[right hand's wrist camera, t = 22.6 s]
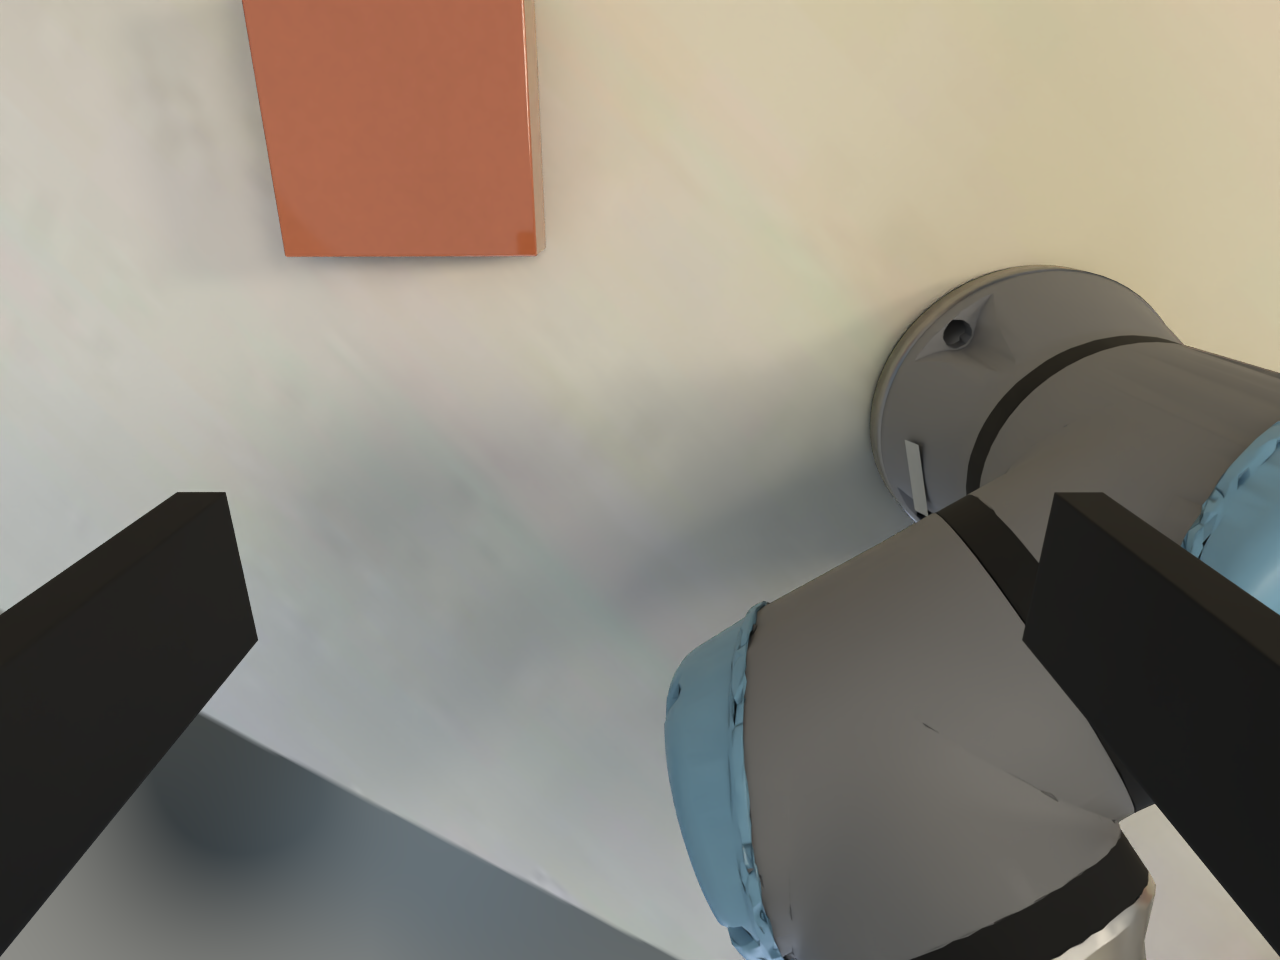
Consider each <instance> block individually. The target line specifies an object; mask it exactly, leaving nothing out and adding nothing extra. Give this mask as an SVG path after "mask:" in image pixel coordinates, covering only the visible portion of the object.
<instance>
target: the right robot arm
mask: <svg viewBox="0 0 1280 960" xmlns="http://www.w3.org/2000/svg"><path fill="white" fill-rule="evenodd" d="M870 435H871V444H872V451H873V455H874V459H875V462H876V465H877V468H878V470H879V473H880V475H881V477H882V479H883V481H884V483H885V485H886V486H887V488H888V489H889V491H890V492H891V494H892V495H893V496H894V498H895V499H896V500H897V502H898V503H899V504H900V505H901V507H902V508H903V509H904V510H905V511H906V513H907V514H908V515H909V516H910V517H911V518H912V519H913V520H914V521H915V522H916V523H915V524H913V525H911V526H909V527H908V528H906V529H904V530H902V531H901V532H899V533H897V534H895V535H894V536H892V537H890V538H888V539H887V540H885V541H883V542H881V543H880V544H878V545H876V546H874V547H872V548H870V549H869V550H867V551H865V552H863V553H861V554H859V555H858V556H856V557H854V558H852V559H850V560H848V561H847V562H845V563H843V564H841V565H839V566H837V567H836V568H834V569H832V570H830V571H828V572H826V573H825V574H823V575H821V576H819V577H817V578H815V579H814V580H812V581H810V582H808V583H806V584H804V585H803V586H801V587H799V588H797V589H795V590H793V591H792V592H790V593H788V594H786V595H784V596H782V597H781V598H779V599H777V600H775V601H773V602H771V603H768V602H766V601H763V602H761V603H759V604H756V605H755V606H753V607H752V608H751V609H750V610H749V611H748V612H747V614H746V616H745V618H743V619H742V620H740V621H738V622H737V623H735V624H734V625H732V626H730V627H729V628H727V629H726V630H724V631H722V632H721V633H719V634H718V635H716V636H715V637H713V638H711V639H710V640H708V641H707V642H705V643H703V644H702V645H700V646H698V647H697V648H695V649H694V650H693V651H692V652H690V653H689V654H688V655H687V656H686V657H685V658H684V660H683V661H682V662H681V664H680V665H679V667H678V668H677V670H676V672H675V674H674V676H673V679H672V681H671V684H670V688H669V693H668V696H667V705H666V721H665V750H666V760H667V768H668V775H669V781H670V786H671V791H672V797H673V802H674V806H675V810H676V814H677V818H678V822H679V825H680V829H681V833H682V836H683V839H684V842H685V845H686V849H687V852H688V855H689V858H690V861H691V864H692V866H693V869H694V872H695V874H696V877H697V880H698V882H699V884H700V887H701V889H702V892H703V894H704V896H705V898H706V900H707V902H708V904H709V906H710V908H711V910H712V912H713V914H714V915H715V917H716V919H717V921H718V922H719V923H720V924H721V925H723V926H725V927H728V931H729V935H730V938H731V942H732V945H733V946H734V947H735V948H736V949H737V951H738V952H739V953H740V954H741V955H742V956H743V957H744V958H745V959H746V960H1146V954H1145V943H1144V940H1145V935H1146V931H1147V927H1148V922H1149V918H1150V914H1151V910H1152V905H1153V901H1154V897H1155V888H1156V884H1155V882H1154V880H1153V878H1152V876H1151V875H1150V873H1149V871H1148V870H1147V868H1146V867H1145V866H1144V864H1143V863H1142V861H1141V859H1140V858H1139V856H1138V855H1137V853H1136V852H1135V850H1134V849H1133V847H1132V846H1131V844H1130V843H1129V841H1128V840H1127V838H1126V837H1125V835H1124V834H1123V832H1122V831H1121V829H1120V826H1119V821H1121V820H1123V819H1124V818H1126V817H1128V816H1130V815H1132V814H1133V813H1136V812H1137V811H1139V810H1141V809H1144V808H1146V807H1148V806H1151V805H1153V804H1156V805H1157V807H1158V808H1159V809H1160V810H1161V811H1162V813H1163V814H1164V815H1165V816H1166V818H1167V819H1168V820H1169V821H1170V823H1171V824H1172V825H1173V826H1174V827H1175V829H1176V830H1177V831H1178V832H1179V834H1180V835H1181V836H1182V837H1183V838H1184V840H1185V841H1186V842H1187V843H1188V845H1189V846H1190V847H1191V848H1192V850H1193V851H1194V852H1195V853H1196V854H1197V856H1198V857H1199V858H1200V859H1201V861H1202V862H1203V863H1204V864H1205V865H1206V867H1207V868H1208V869H1209V870H1210V872H1211V873H1212V874H1213V875H1214V877H1215V878H1216V879H1217V880H1218V881H1219V883H1220V884H1221V885H1222V886H1223V888H1224V889H1225V890H1226V891H1227V893H1228V894H1229V895H1230V896H1231V897H1232V899H1233V900H1234V901H1235V902H1236V904H1237V905H1238V906H1239V907H1240V908H1241V910H1242V911H1243V912H1244V913H1245V915H1246V916H1247V917H1248V918H1249V920H1250V921H1251V922H1252V923H1253V924H1254V926H1255V927H1256V928H1257V929H1258V931H1259V932H1260V933H1261V934H1262V936H1263V937H1264V938H1265V939H1266V940H1267V942H1268V943H1269V944H1270V945H1271V947H1272V948H1273V949H1274V950H1275V951H1276V953H1277V954H1278V955H1279V956H1280V373H1278V372H1274V371H1271V370H1268V369H1264V368H1261V367H1257V366H1254V365H1251V364H1247V363H1244V362H1240V361H1237V360H1234V359H1230V358H1227V357H1224V356H1220V355H1217V354H1213V353H1210V352H1207V351H1203V350H1200V349H1196V348H1193V347H1189V346H1186V345H1184V344H1183V343H1182V342H1181V341H1180V340H1179V339H1178V338H1177V337H1176V335H1175V334H1174V333H1173V332H1172V331H1171V330H1170V329H1169V328H1168V327H1167V326H1166V325H1165V323H1164V322H1163V320H1162V319H1161V318H1160V316H1159V315H1158V314H1157V313H1156V312H1155V310H1154V309H1153V308H1152V307H1151V306H1150V305H1149V304H1148V303H1147V302H1146V301H1145V300H1144V299H1143V298H1141V297H1140V296H1139V295H1138V294H1136V293H1135V292H1133V291H1132V290H1131V289H1129V288H1128V287H1126V286H1124V285H1122V284H1120V283H1118V282H1117V281H1114V280H1112V279H1109V278H1107V277H1104V276H1101V275H1097V274H1094V273H1090V272H1086V271H1081V270H1077V269H1072V268H1067V267H1061V266H1051V265H1030V266H1021V267H1014V268H1009V269H1005V270H1001V271H996V272H993V273H990V274H988V275H985V276H982V277H979V278H977V279H975V280H973V281H970V282H968V283H966V284H964V285H962V286H961V287H959V288H957V289H955V290H953V291H952V292H950V293H949V294H947V295H946V296H944V297H943V298H941V299H940V300H939V301H937V302H936V303H935V304H934V305H932V306H931V307H930V308H929V309H928V310H926V311H925V312H924V313H923V314H922V315H921V316H920V317H919V318H918V319H917V320H916V321H915V322H914V323H913V324H912V326H911V327H910V328H909V329H908V330H907V331H906V332H905V334H904V335H903V337H902V338H901V339H900V341H899V342H898V343H897V345H896V346H895V348H894V350H893V351H892V353H891V355H890V356H889V358H888V360H887V362H886V364H885V366H884V368H883V370H882V373H881V375H880V378H879V381H878V383H877V386H876V390H875V394H874V397H873V403H872V409H871V419H870ZM257 641H258V638H257V633H256V629H255V624H254V619H253V615H252V610H251V606H250V601H249V597H248V592H247V588H246V583H245V579H244V574H243V569H242V565H241V560H240V556H239V551H238V547H237V542H236V538H235V533H234V528H233V524H232V519H231V515H230V510H229V506H228V501H227V497H226V492H177V493H175V494H174V495H172V496H171V497H170V498H168V499H167V500H165V501H164V502H162V503H161V504H160V505H158V506H157V507H155V508H154V509H152V510H151V511H149V512H148V513H147V514H145V515H144V516H142V517H141V518H139V519H138V520H136V521H135V522H134V523H132V524H131V525H129V526H128V527H126V528H125V529H123V530H122V531H121V532H119V533H118V534H116V535H115V536H113V537H112V538H111V539H109V540H108V541H106V542H105V543H103V544H102V545H100V546H99V547H98V548H96V549H95V550H93V551H92V552H90V553H89V554H87V555H86V556H85V557H83V558H82V559H80V560H79V561H77V562H76V563H75V564H73V565H72V566H70V567H69V568H67V569H66V570H64V571H63V572H62V573H60V574H59V575H57V576H56V577H54V578H53V579H51V580H50V581H49V582H47V583H46V584H44V585H43V586H41V587H40V588H38V589H37V590H36V591H34V592H33V593H31V594H30V595H28V596H27V597H26V598H24V599H23V600H21V601H20V602H18V603H17V604H15V605H14V606H13V607H11V608H10V609H8V610H7V611H5V612H4V613H2V614H1V615H0V956H1V955H2V954H3V953H4V951H5V950H6V949H7V948H8V946H9V945H10V944H11V943H12V942H13V940H14V939H15V938H16V937H17V936H18V934H19V933H20V932H21V931H22V929H23V928H24V927H25V926H26V924H27V923H28V922H29V921H30V920H31V918H32V917H33V916H34V915H35V913H36V912H37V911H38V910H39V908H40V907H41V906H42V905H43V904H44V902H45V901H46V900H47V899H48V897H49V896H50V895H51V894H52V893H53V891H54V890H55V889H56V888H57V886H58V885H59V884H60V883H61V881H62V880H63V879H64V878H65V876H66V875H67V874H68V873H69V872H70V870H71V869H72V868H73V867H74V865H75V864H76V863H77V862H78V861H79V859H80V858H81V857H82V856H83V854H84V853H85V852H86V851H87V849H88V848H89V847H90V846H91V845H92V843H93V842H94V841H95V840H96V838H97V837H98V836H99V835H100V834H101V832H102V831H103V830H104V829H105V827H106V826H107V825H108V824H109V822H110V821H111V820H112V819H113V818H114V816H115V815H116V814H117V813H118V811H119V810H120V809H121V808H122V807H123V805H124V804H125V803H126V802H127V800H128V799H129V798H130V797H131V795H132V794H133V793H134V792H135V791H136V789H137V788H138V787H139V786H140V784H141V783H142V782H143V781H144V780H145V778H146V777H147V776H148V775H149V773H150V772H151V771H152V770H153V768H154V767H155V766H156V765H157V763H158V762H159V761H160V760H161V759H162V757H163V756H164V755H165V754H166V752H167V751H168V750H169V749H170V748H171V746H172V745H173V744H174V743H175V741H176V740H177V739H178V738H179V736H180V735H181V734H182V733H183V732H184V730H185V729H186V728H187V727H188V725H189V724H190V723H191V722H192V721H193V719H194V718H195V717H196V716H197V714H198V713H199V712H200V711H201V710H202V708H203V707H204V706H205V705H206V703H207V702H208V701H209V700H210V698H211V697H212V696H213V695H214V694H215V692H216V691H217V690H218V689H219V687H220V686H221V685H222V684H223V683H224V681H225V680H226V679H227V678H228V676H229V675H230V674H231V673H232V671H233V670H234V669H235V668H236V667H237V665H238V664H239V663H240V662H241V660H242V659H243V658H244V657H245V655H246V654H247V653H248V652H249V651H250V649H251V648H252V647H253V646H254V644H255V643H256V642H257Z"/></svg>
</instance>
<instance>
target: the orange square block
mask: <svg viewBox="0 0 1280 960" xmlns="http://www.w3.org/2000/svg"><path fill="white" fill-rule="evenodd" d="M242 4H243V9H244V15H245V21H246V27H247V33H248V39H249V45H250V51H251V57H252V62H253V68H254V74H255V80H256V86H257V92H258V98H259V104H260V110H261V116H262V121H263V127H264V133H265V139H266V145H267V151H268V157H269V163H270V169H271V175H272V180H273V186H274V192H275V198H276V204H277V210H278V216H279V222H280V228H281V233H282V239H283V245H284V251H285V256H287V257H417V256H537V255H538V254H539V253H540V252H541V251H543V250H544V249H545V247H546V243H545V221H544V200H543V178H542V157H541V135H540V114H539V92H538V71H537V49H536V28H535V6H534V0H242Z"/></svg>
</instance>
